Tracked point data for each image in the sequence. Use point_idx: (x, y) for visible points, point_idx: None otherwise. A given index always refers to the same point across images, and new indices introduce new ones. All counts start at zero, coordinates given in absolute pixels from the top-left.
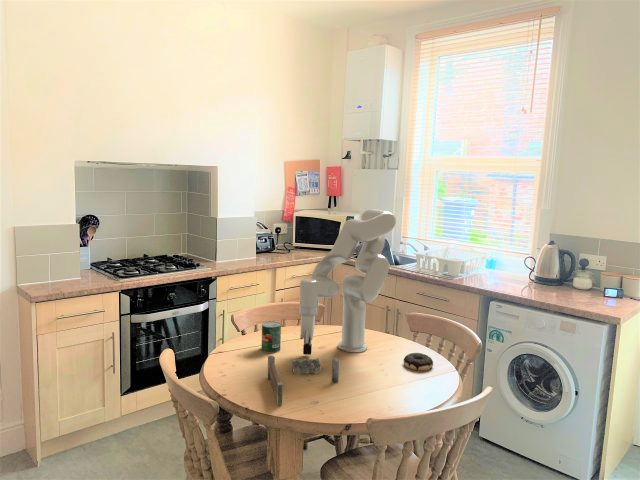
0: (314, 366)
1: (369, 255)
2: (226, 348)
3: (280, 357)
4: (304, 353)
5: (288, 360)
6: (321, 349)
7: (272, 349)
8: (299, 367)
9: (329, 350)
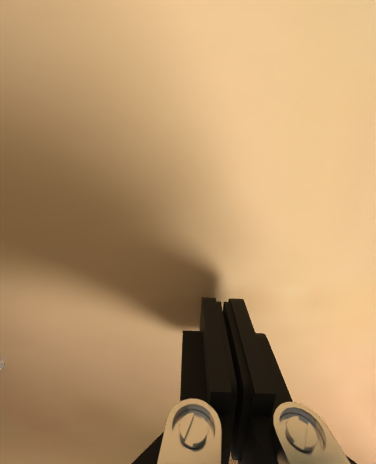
0: (3, 363)
1: None
2: None
3: (151, 24)
4: (202, 311)
5: (75, 142)
6: (366, 402)
7: None
8: None
9: (337, 442)
